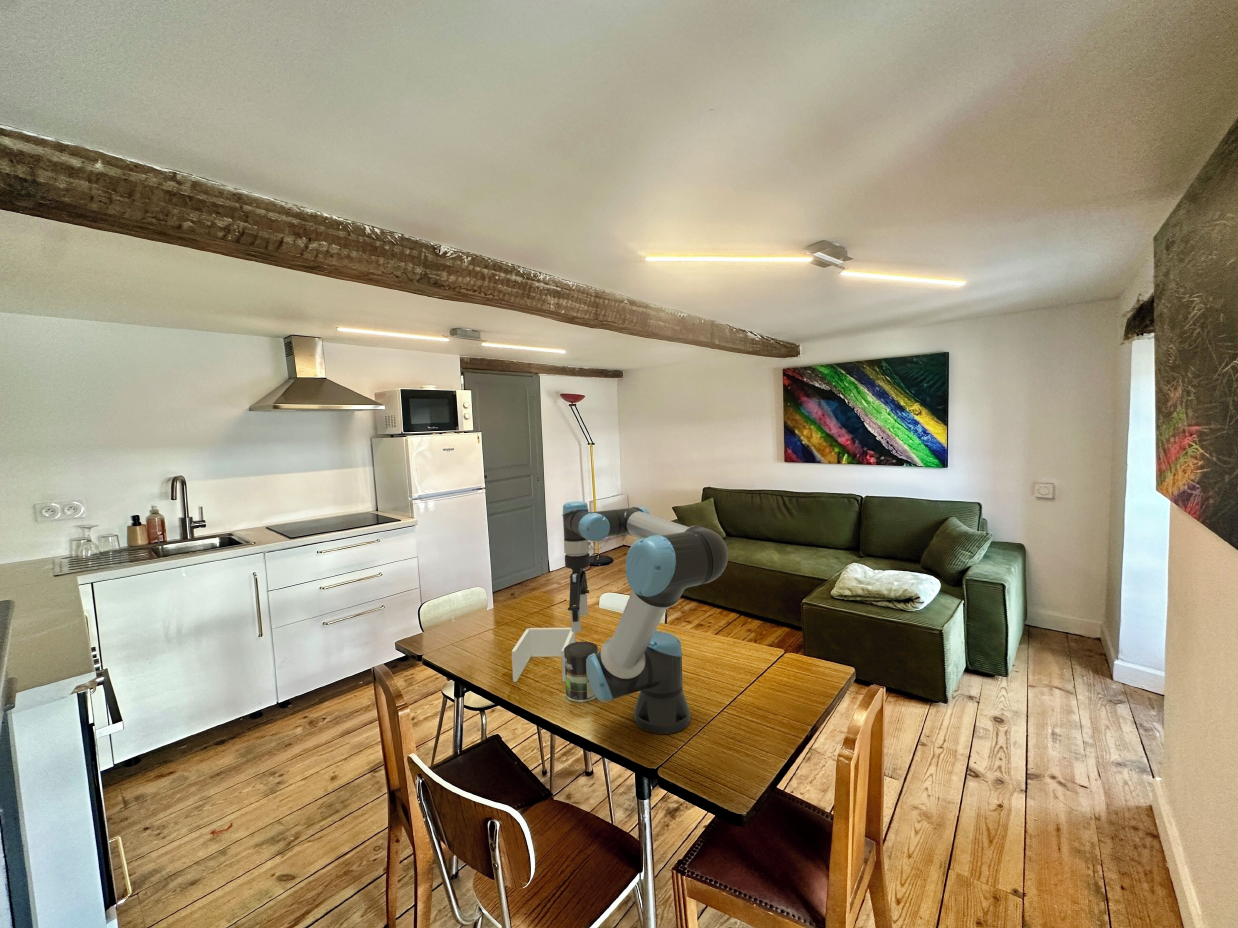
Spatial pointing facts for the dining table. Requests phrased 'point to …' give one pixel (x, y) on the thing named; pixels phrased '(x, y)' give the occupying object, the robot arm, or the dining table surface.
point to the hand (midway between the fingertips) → (580, 622)
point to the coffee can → (578, 671)
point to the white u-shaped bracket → (540, 647)
